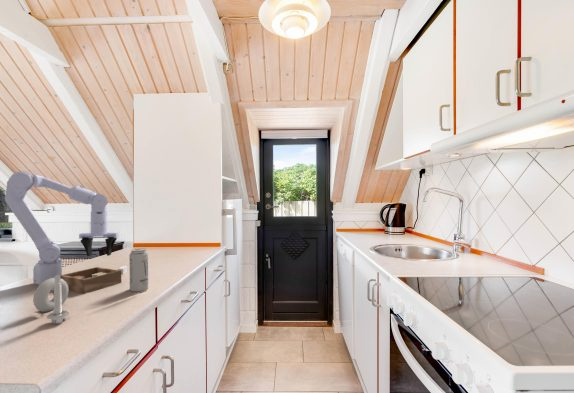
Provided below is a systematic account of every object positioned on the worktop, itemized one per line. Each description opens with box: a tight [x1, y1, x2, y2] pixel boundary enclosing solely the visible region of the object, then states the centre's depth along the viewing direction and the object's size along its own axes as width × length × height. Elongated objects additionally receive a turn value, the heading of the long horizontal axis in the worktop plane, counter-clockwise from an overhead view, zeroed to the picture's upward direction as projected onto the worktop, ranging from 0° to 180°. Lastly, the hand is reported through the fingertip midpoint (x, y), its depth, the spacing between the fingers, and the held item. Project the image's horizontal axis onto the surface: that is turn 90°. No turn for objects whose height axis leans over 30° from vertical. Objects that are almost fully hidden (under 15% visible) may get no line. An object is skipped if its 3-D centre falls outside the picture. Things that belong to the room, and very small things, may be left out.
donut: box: [32, 278, 69, 313], centre depth 91 cm, size 10×4×10 cm, turn 168°
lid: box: [117, 265, 128, 275], centre depth 133 cm, size 15×15×4 cm
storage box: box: [60, 266, 122, 294], centre depth 114 cm, size 14×14×6 cm
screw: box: [46, 275, 70, 325], centre depth 84 cm, size 13×5×5 cm
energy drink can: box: [129, 247, 149, 294], centre depth 110 cm, size 6×6×15 cm
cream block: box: [92, 272, 107, 277], centre depth 118 cm, size 4×4×4 cm
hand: (99, 255), depth 128 cm, fingers open, 7 cm apart
